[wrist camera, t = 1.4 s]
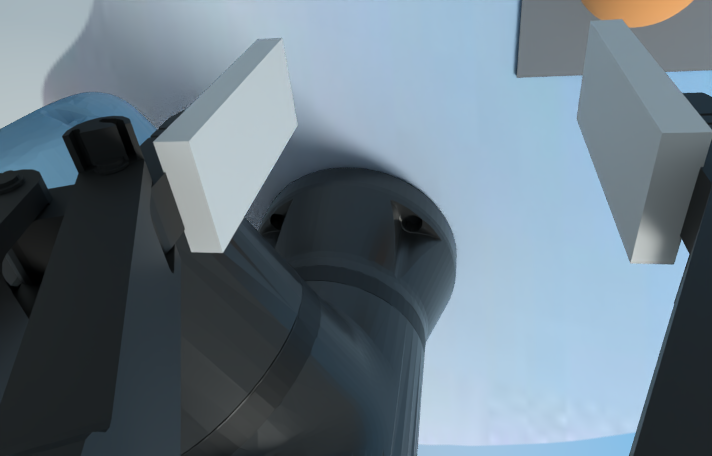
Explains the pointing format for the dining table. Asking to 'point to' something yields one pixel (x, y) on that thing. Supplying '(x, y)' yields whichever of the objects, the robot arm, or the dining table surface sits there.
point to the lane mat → (571, 28)
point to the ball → (635, 10)
